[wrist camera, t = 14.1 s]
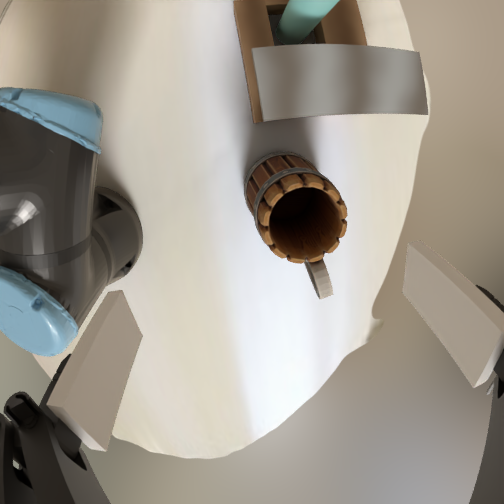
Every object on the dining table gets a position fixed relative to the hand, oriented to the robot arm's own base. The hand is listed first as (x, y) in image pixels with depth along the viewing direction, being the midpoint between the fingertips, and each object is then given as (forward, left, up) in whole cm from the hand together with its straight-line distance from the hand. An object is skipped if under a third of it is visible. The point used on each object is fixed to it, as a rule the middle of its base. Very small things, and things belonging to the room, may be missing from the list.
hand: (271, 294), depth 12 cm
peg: (+9, +20, -29) cm, 36 cm away
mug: (+5, -5, -29) cm, 30 cm away
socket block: (+10, +15, -29) cm, 34 cm away
